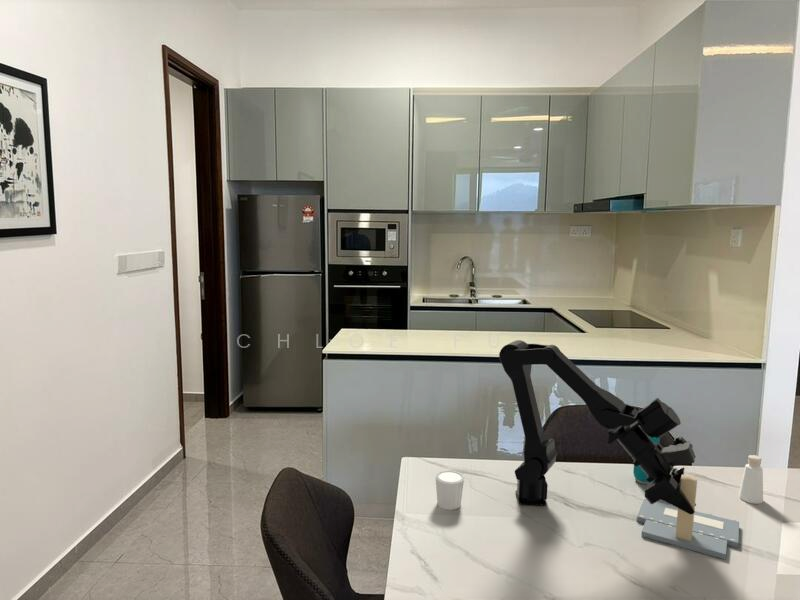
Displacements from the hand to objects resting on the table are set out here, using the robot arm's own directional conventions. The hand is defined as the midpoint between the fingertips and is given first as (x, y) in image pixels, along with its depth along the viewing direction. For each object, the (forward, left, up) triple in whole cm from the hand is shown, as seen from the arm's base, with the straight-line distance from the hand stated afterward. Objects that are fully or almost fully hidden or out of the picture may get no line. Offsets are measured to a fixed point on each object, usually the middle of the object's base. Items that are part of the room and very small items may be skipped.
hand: (693, 509), depth 122 cm
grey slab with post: (-1, +1, -8) cm, 8 cm away
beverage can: (+1, +30, -8) cm, 31 cm away
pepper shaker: (+24, +22, -8) cm, 33 cm away
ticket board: (+3, +8, -8) cm, 11 cm away
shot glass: (-51, +13, -8) cm, 53 cm away
